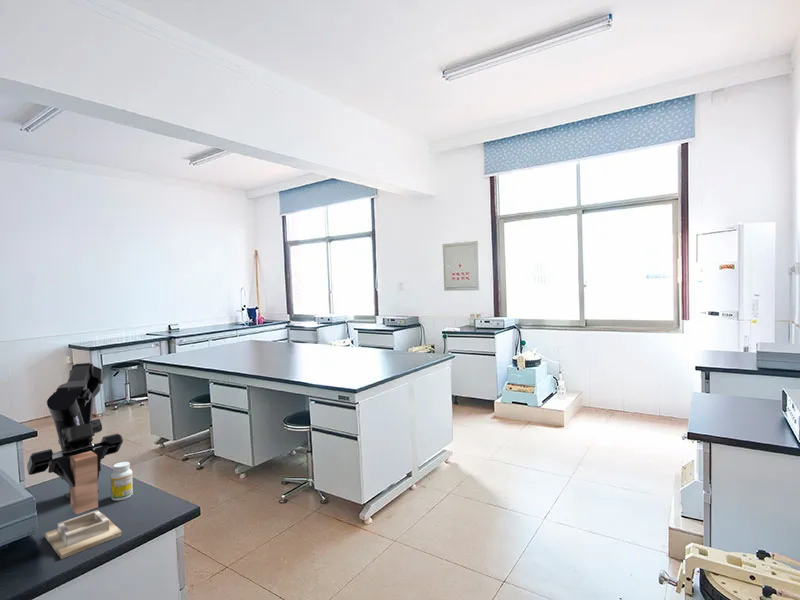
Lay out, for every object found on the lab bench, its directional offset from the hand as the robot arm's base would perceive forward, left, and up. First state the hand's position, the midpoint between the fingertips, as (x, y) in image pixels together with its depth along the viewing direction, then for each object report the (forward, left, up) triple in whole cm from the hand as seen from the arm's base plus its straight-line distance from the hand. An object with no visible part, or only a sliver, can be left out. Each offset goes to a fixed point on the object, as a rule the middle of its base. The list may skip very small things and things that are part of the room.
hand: (85, 482), depth 104 cm
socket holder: (-1, 0, -14) cm, 14 cm away
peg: (-1, 0, -7) cm, 7 cm away
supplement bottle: (-14, +16, -14) cm, 26 cm away
